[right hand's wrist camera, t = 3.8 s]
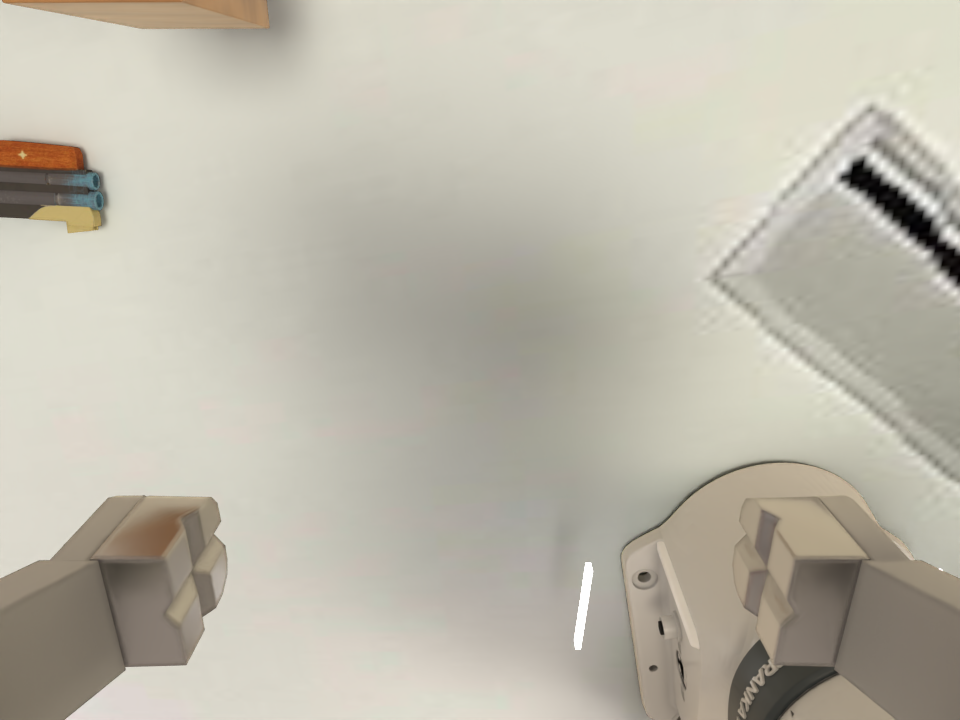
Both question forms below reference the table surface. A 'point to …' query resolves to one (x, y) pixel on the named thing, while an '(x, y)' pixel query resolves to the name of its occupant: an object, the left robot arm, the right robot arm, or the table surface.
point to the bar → (162, 12)
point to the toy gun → (48, 185)
